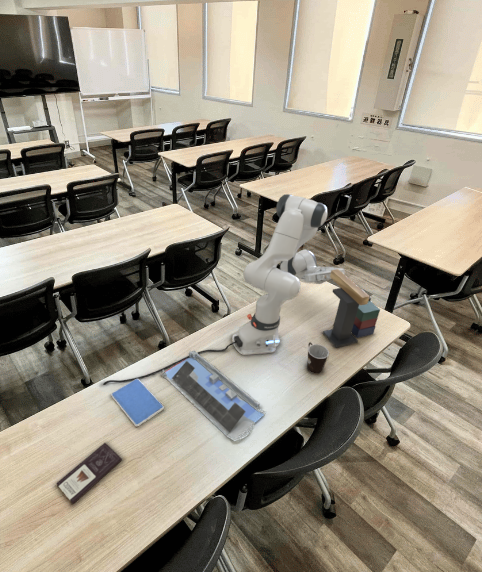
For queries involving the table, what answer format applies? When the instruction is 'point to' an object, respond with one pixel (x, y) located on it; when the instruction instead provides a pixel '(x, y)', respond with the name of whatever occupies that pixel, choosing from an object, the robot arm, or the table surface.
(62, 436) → the table surface
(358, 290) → the wooden bar
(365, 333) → the book stack
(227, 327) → the table surface
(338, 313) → the stand
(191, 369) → the blue parts tray
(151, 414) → the tablet
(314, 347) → the coffee mug
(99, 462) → the chocolate bar
